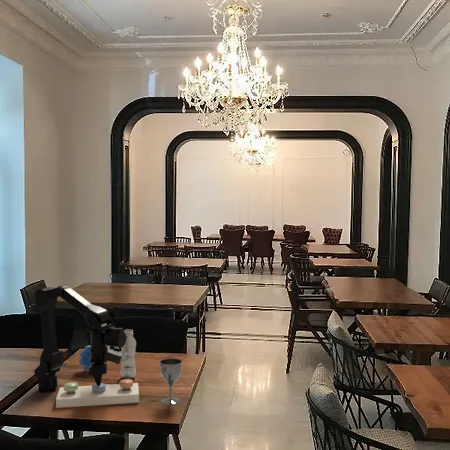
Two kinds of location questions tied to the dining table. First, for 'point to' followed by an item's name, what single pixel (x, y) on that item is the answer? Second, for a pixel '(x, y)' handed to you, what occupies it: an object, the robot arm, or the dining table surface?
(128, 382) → the button terracotta
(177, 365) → the wine glass
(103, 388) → the button blue
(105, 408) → the dining table surface
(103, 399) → the console
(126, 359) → the plastic bottle
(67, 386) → the button sage
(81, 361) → the grapes
